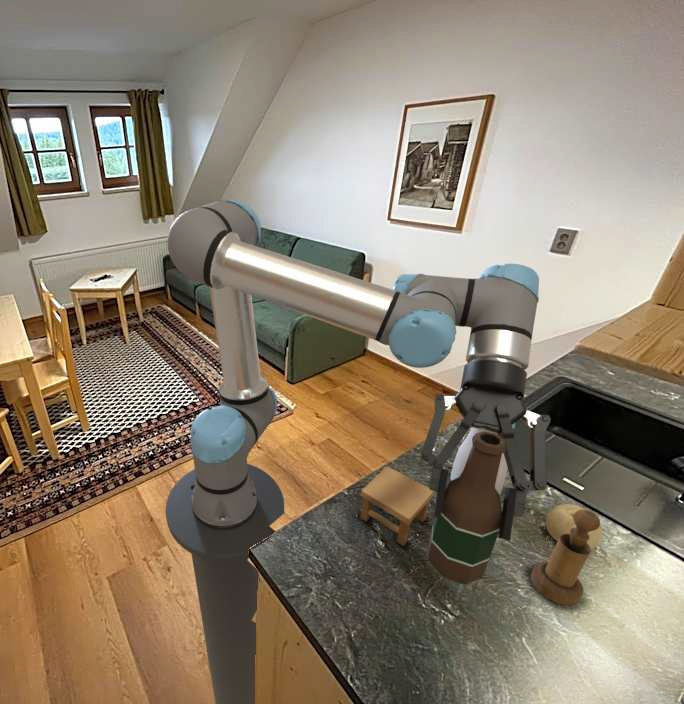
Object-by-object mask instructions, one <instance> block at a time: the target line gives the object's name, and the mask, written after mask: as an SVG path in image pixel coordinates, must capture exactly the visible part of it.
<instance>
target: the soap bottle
mask: <svg viewBox="0 0 684 704" xmlns="http://www.w3.org/2000/svg"><path fill="white" fill-rule="evenodd" d="M512 428H513V430H514V429H516V422H515V423H514V424H513V425H512ZM482 431H485V432H490V433H495V434H497V433H496V432H492V431H489V430H487V429H485V428H474V427H471V428H470V431H469V433H468V435H467V436H466V438H465V439H464V440H463V442H461V445H460V446H459V447H458V450H457V453H456V456H455V459H454V461H453V465H452V468H451V473H450V481H452V480H454V479H456V478H458V477H460V475H461V473H462V472H463V470H464V467H465V465H466V462H467V459H468V457H469V454H470V451H471V449H472V446H473V445H472V438H473V436H474V435H475V434H476V433H479V432H482ZM507 473H508V467H507V464H506V460H505V457H504V453H502V456H501V461H500V465H499V470H498V474H497V479H496V483H495V489H496V490H497V492H498V493H499V496H500V495H501V494H502V491H503V488H504V486H505V483H506V478H507Z"/></svg>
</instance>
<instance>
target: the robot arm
mask: <svg viewBox="0 0 684 704" xmlns="http://www.w3.org/2000/svg"><path fill="white" fill-rule="evenodd" d="M261 237H262V227H261V221H260V220H259V217H258V215H257V213H256V212H255V211H254V210H253V208H251V207H250V205H248V204H247V203H246V202H243V201H241V200H237V199H221V200H217V201H214V202H210V203H208V204H204V205H202V206H198V207H195V208H191V209H188V210H186V211H184V212H183V213H181V214H180V215H178V216H177V217H176V219H175V220H174V222H173V223H172V224H171V226H170V228H169V231H168V234H167V238H166V239H167V242H166V243H167V244H166V245H167V246H166V247H167V251H168V255H169V258H170V260H171V262H172V263H173V265H174V266H175V267H176V269H178V271H180V272H181V274H183V275H184V276H186V277H188V278H190V279H191V280H192V281H195V282H197V283H199V284H201V285H204V286H207V287H208V288H209V289H208V290H209V294H210V295H209V296H210V300H211V301H210V302H211V308H212V314H213V320H214V329H215V333H216V334H215V335H216V339H217V346H218V353H219V358H220V365H221V372H222V373H221V374H222V379H223V380H222V381H221V382H220V383H219V386H218V395H219V401H220V405H217V406H216V405H215V406H212V407H211V409H209V408H206V409H205V410H202V411H201V412H200V413H199V414H198V415H196V417H195V418H194V420H193V421H192V423H191V426H190V439H189V440H190V441H189V442H190V443H189V444H190V449H191V451H192V452H191V453H192V458H193V466H194V469H195V474H196V482H195V484H194V485H191V489H193V492H192V497H191V504H192V510H193V513H194V515H195V517H196V518H197V519H198V520H199V521H200V522H201V523H202V524H204V525H206V526H208V527H210V528H213V529H219V530H226V529H233V528H236V527H239V526H241V525H243V524H244V523H246V522H247V521H248V520H249V519H250V518H251V517H252V516H253V515H254V513H255V511H256V508H257V493H256V490H255V487H254V485H253V481H252V482H251V480H250V478H249V476H248V470H247V464H248V456H249V454H250V452H251V451H252V450H253V448H254V447H255V445H256V444H257V442H258V441H259V440H260V438H261V436H262V435H263V434H264V432H265V431H266V430H267V428H268V427H269V426H270V425H271V423H272V422H273V421H274V418H275V415H276V413H277V410H278V398H277V395H276V393H275V391H274V389H273V388H270V384H269V382H268V380H267V379H266V377H264V376H262V375H261V369H260V359H259V351H258V341H257V333H256V323H255V322H256V321H255V315H254V305H253V297H254V298H255V297H256V298H258V299H261V300H264V301H266V302H269V303H272V304H274V305H277V306H280V307H283V308H285V309H289V310H291V311H294V312H296V313H300V314H302V315H305V316H307V317H310V318H313V319H316V320H319V321H321V322H324V323H327V324H330V325H332V326H335V327H338V328H340V329H344V330H346V331H349V332H352V333H354V334H357V335H360V336H362V337H365V338H367V339H371V340H374V341H376V342H379V343H381V344H383V345H387V346H389V350H390V352H391V354H392V356H394V358H396V360H397V361H399V362H400V363H401V364H403V365H405V366H407V367H411V368H416V369H417V368H418V369H424V368H430V367H433V366H436V365H438V364H440V363H441V362H443V361H444V360H445V359H446V358H447V357H448V356H449V354H450V353H451V351H452V348H453V344H454V343H455V340H456V334H457V327H462V328H463V327H464V328H470V332H469V333H470V334H469V338H468V339H469V340H468V345H467V349H466V355H465V361H466V362H467V363H466V364H465V365H464V367H463V372H462V378H461V383H460V389H459V391H458V392H457V393H456V394H455V395H443V394H442V393H437V394H436V395H435V396H434V400H433V401H434V402H433V404H434V414H433V417H432V420H431V422H430V426H429V428H428V431H427V435H426V438H425V441H424V443H423V446H422V449H421V452H420V459H421V461H424V462H425V463H427V464H429V466H430V467H431V473H430V480H429V485H428V488H429V489H430V490H433V491H434V492H436V496H435V500H434V501H435V502H434V507H433V513H432V517H434V518H435V517H437V518H441V512H442V506H443V501H444V495H445V490H446V484H447V483H448V478H449V473H450V471H449V470H448V469H444V466H445V464H446V463H447V461H448V460H449V458H450V457H451V455H452V454H453V452H454V451H455V450H456V449H457V447H458V445H459V444H460V442H462V439H463V438H464V437H465V436H466V434H467V433H468V431H469V429H471V428H472V427H474V428H485V429H487V430H489V431H492V432H496V433H497V435H498V436H500V437H501V438H503V439H504V440H505V447H506V452H505V453H504V457H505V460H506V464H507V467H508V469H507V472H508V475H509V477H510V481H511V484H512V485H511V486H512V487H505V489H504V494H503V495H504V497H503V503H502V508H501V510H502V521H501V524H500V530H499V534H498V536H497V538H499V539H502V540H504V541H508V542H511V536H512V529H513V522H514V516H516V517H522V518H523V515H524V514H525V511H526V510H525V509H526V501H527V495H528V493H529V492H535V491H537V492H538V491H544V490H546V489H547V487H548V483H547V481H548V480H547V446H546V445H547V443H546V442H547V441H546V432H547V429H548V427H549V425H550V423H551V421H552V419H551V416H550V415H548V414H545V413H544V414H538V413H536V412H533V411H530V410H528V408H527V406H526V404H525V400H524V398H525V392H526V384H527V378H528V372H527V371H526V370H527V368H529V364H530V357H531V356H530V355H531V349H532V339H533V334H534V333H533V332H534V327H535V320H536V315H537V308H538V303H539V300H540V298H539V290H540V289H539V288H540V287H539V286H540V277H539V274H538V272H536V270H535V269H533V268H532V267H529V266H527V265H524V264H519V263H504V264H503V265H501V264H495V265H491V266H489V267H487V268H485V270H483V271H482V273H481V274H480V277H479V278H465V277H454V276H442V275H431V274H430V275H429V274H425V273H424V274H423V273H416V274H415V273H408V274H407V273H403V274H400V275H398V276H397V277H396V279H395V281H394V284H393V287H392V288H389V287H385V286H383V285H379V284H376V283H373V282H369V281H366V280H363V279H360V278H357V277H354V276H351V275H348V274H345V273H341V272H338V271H335V270H332V269H329V268H326V267H323V266H319V265H316V264H313V263H310V262H307V261H304V260H301V259H297V258H294V257H291V256H288V255H285V254H282V253H278V252H276V251H273V250H269V249H266V248H264V247H260V246H259V243H260V241H261ZM453 405H455V406H456V408H457V409H458V411H459V412H460V414H461V416H462V420H461V422H460V424H459V425H458V426H457V428H456V429H455V431H454V432H453V433H452V435H451V436H450V438H449V439H448V441H447V442H446V444H445V445H444V446H443V448H442V449H441V451H440V452H439V453H438V455H437V456H436V455H434V454H432V453H433V450H434V447H435V444H436V441H437V438H438V434H439V433H440V429H441V426H442V423H443V420H444V417H445V413H446V412H448V411H450V410H451V408H452V406H453ZM521 419H524V420H525V426H526V428H528V429H530V430H529V434H528V454H529V456H528V457H529V458H528V459H529V460H528V461H529V480H528V479H527V476H526V473H525V469H524V466H523V462H522V459H521V455H520V453H519V452H520V451H519V449H518V445H517V442H516V438H515V431H514V429H513V428H512V425H513V424H514V423H515V424H516V423H517V422H518V421H519V420H521Z"/></svg>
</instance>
